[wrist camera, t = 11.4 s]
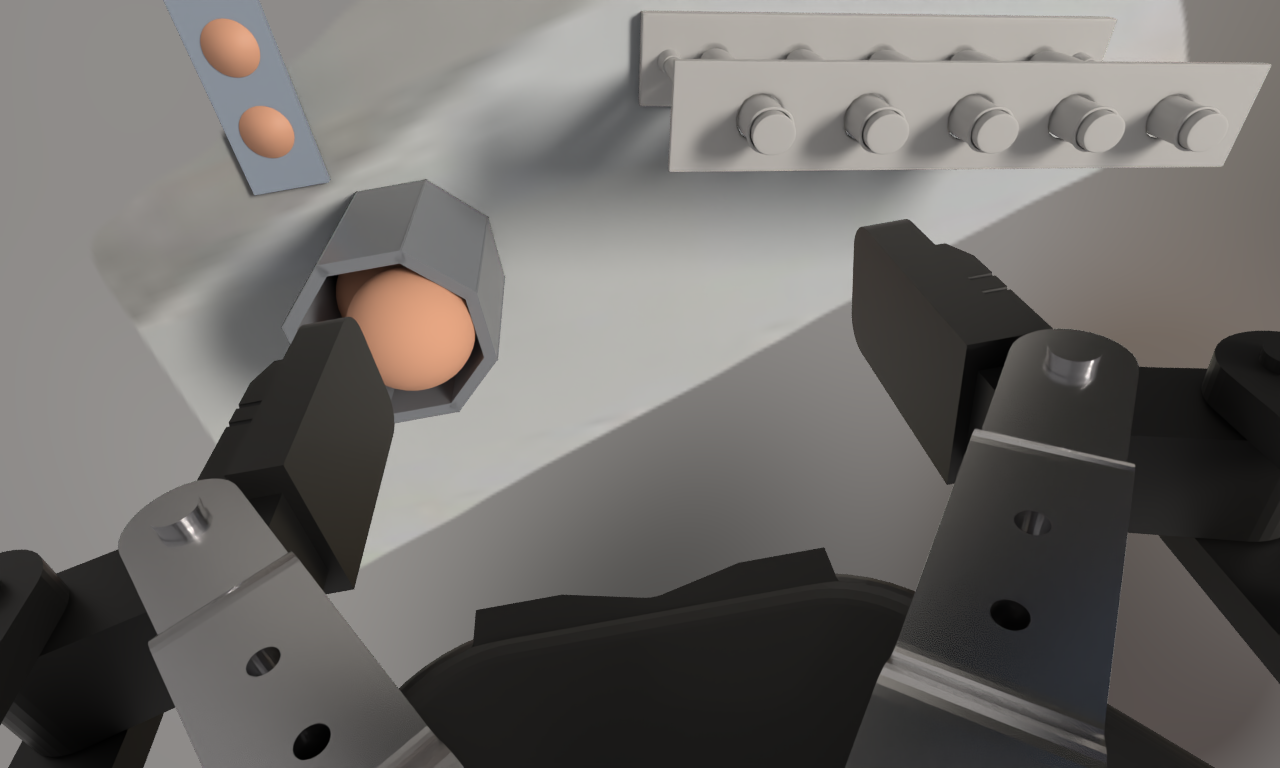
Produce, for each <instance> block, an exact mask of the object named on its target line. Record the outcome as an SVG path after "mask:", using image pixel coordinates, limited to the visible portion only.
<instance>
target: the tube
mask: <svg viewBox="0 0 1280 768" xmlns="http://www.w3.org/2000/svg"><path fill="white" fill-rule="evenodd" d="M394 264H402V265H403V266H405V267H407V268H409V269H411V270H413V271H414V272H416V273H418V274H420V275H422V276H424V277H425V278H427V279H429V280H431V281H433V282H435V283H436V284H438V285H440V286H442V287H444V288H446V289H447V290H449V291H451V292H453V293H455V294H457V295H458V296H460V297H462V298H464V299H466V302H467V305H468V309H469V312H470V315H471V318H472V321H473V324H474V327H475V330H476V336H475V343H474V346H473V349H472V352H471V354H470V356H469V358H468V360H467V362H466V363H465V365H464V366H463V367H462V368H461V370H460V371H459V372H458V373H457V374H456V375H454V376H453V377H452V378H450V379H449V380H448V381H446V382H444V383H442V384H440V385H438V386H436V387H433V388H429V389H425V390H419V391H406V390H400V389H394V388H391V387H388V386H386V385H385V386H386V389H387V391H388V394H389V396H390V399H391V403H392V407H393V413H394V423H399V422H405V421H410V420H416V419H421V418H427V417H432V416H438V415H443V414H449V413H455V412H460V410H461V409H462V407H463V406H464V404H465V403H466V402H467V400H468V399H469V398H470V396H471V395H472V394H473V392H474V391H475V390H476V388H477V387H478V385H479V384H480V383H481V381H482V380H483V379H484V377H485V376H486V375H487V373H488V372H489V370H490V369H491V368H492V366H493V365H494V364H495V362H496V361H497V360H498V352H499V341H500V329H501V318H502V306H503V294H504V283H505V276H504V273H503V269H502V266H501V262H500V258H499V255H498V251H497V248H496V244H495V240H494V237H493V233H492V230H491V226H490V223H489V217H488V216H485V215H484V214H482V213H480V212H479V211H477V210H476V209H474V208H472V207H471V206H469V205H467V204H466V203H464V202H462V201H461V200H459V199H457V198H456V197H454V196H452V195H451V194H449V193H448V192H446V191H444V190H443V189H441V188H439V187H438V186H436V185H434V184H433V183H431V182H429V181H428V180H427V179H425V180H421V181H415V182H410V183H404V184H398V185H393V186H387V187H381V188H376V189H370V190H365V191H359V192H358V191H357V192H356V193H355V195H354V197H353V198H352V200H351V202H350V204H349V206H348V207H347V209H346V211H345V213H344V215H343V216H342V218H341V220H340V222H339V224H338V225H337V227H336V229H335V231H334V233H333V234H332V236H331V238H330V240H329V242H328V243H327V245H326V247H325V249H324V251H323V252H322V254H321V256H320V258H319V260H318V261H317V263H316V265H315V267H314V269H313V271H312V272H311V274H310V276H309V278H308V280H307V281H306V283H305V285H304V287H303V289H302V290H301V292H300V294H299V296H298V298H297V299H296V301H295V303H294V305H293V307H292V308H291V310H290V312H289V314H288V316H287V317H286V319H285V321H284V323H283V325H282V326H281V327H282V329H283V331H284V333H285V335H286V337H287V339H288V341H289V343H290V345H291V343H292V341H293V339H294V337H295V335H296V333H297V331H298V329H299V328H300V326H302V325H304V324H310V323H316V322H321V321H327V320H333V319H338V318H342V316H341V313H340V311H339V309H338V305H337V300H336V283H337V279H338V275H339V274H344V273H349V272H355V271H360V270H366V269H372V268H377V267H383V266H388V265H394Z"/></svg>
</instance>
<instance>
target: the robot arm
mask: <svg viewBox="0 0 1280 768" xmlns="http://www.w3.org/2000/svg"><path fill="white" fill-rule="evenodd" d="M852 323H853V330H854V335H855V338H856V342H857V344H858V347H859V349H860V351H861V353H862V354H863V356H864V357H865V359H866V360H867V362H868V363H869V365H870V366H871V368H872V370H873V371H874V372H875V374H876V376H877V377H878V379H879V380H880V382H881V384H882V385H883V386H884V388H885V390H886V391H887V393H888V394H889V396H890V397H891V399H892V400H893V402H894V404H895V405H896V407H897V408H898V410H899V411H900V413H901V414H902V416H903V417H904V419H905V421H906V422H907V424H908V425H909V427H910V428H911V430H912V431H913V433H914V435H915V436H916V438H917V439H918V441H919V442H920V444H921V445H922V447H923V448H924V450H925V451H926V453H927V455H928V456H929V458H930V459H931V461H932V462H933V464H934V466H935V467H936V468H937V470H938V472H939V473H940V475H941V476H942V478H943V479H944V481H945V483H946V484H947V485H948V484H954V486H953V489H952V491H951V494H950V497H949V500H948V502H947V505H946V508H945V511H944V513H943V516H942V519H941V522H940V525H939V527H938V530H937V533H936V536H935V538H934V541H933V544H932V547H931V550H930V552H929V555H928V558H927V561H926V563H925V566H924V569H923V572H922V575H921V577H920V580H919V583H918V586H917V588H916V591H913V590H910V589H907V588H905V587H902V586H898V585H896V584H893V583H890V582H885V581H882V580H877V579H873V578H868V577H862V576H854V575H848V574H835V573H834V570H833V568H832V565H831V563H830V560H829V558H828V556H827V553H826V551H825V548H819V549H813V550H808V551H802V552H796V553H791V554H785V555H780V556H774V557H769V558H763V559H758V560H752V561H747V562H741V563H738V564H735V565H733V566H730V567H728V568H726V569H723V570H721V571H718V572H716V573H713V574H711V575H709V576H706V577H704V578H701V579H699V580H696V581H694V582H692V583H689V584H687V585H684V586H682V587H680V588H677V589H675V590H672V591H670V592H667V593H665V594H663V595H660V596H657V597H652V598H633V597H606V596H605V597H604V596H579V595H558V596H552V597H547V598H542V599H536V600H531V601H524V602H519V603H513V604H508V605H503V606H497V607H491V608H486V609H480V610H476V617H475V630H474V639H473V640H471V641H468V642H466V643H464V644H462V645H460V646H458V647H456V648H454V649H453V650H451V651H449V652H447V653H445V654H443V655H442V656H440V657H439V658H437V659H436V660H434V661H433V662H431V663H430V664H428V665H427V666H425V667H424V668H422V669H421V670H420V671H419V672H417V673H416V674H415V675H414V676H412V677H411V678H410V679H409V680H408V681H406V682H405V683H404V684H403V685H402V686H401V687H400V688H398V687H397V686H396V685H395V683H394V682H393V681H392V680H391V678H390V677H389V676H388V675H387V673H386V672H385V670H384V669H383V668H382V667H381V665H380V664H379V663H378V662H377V660H376V659H375V658H374V656H373V655H372V654H371V652H370V651H369V650H368V648H367V647H366V646H365V645H364V643H363V642H362V641H361V639H360V638H359V637H358V635H357V634H356V633H355V632H354V630H353V629H352V628H351V626H350V625H349V624H348V623H347V621H346V620H345V619H344V617H343V616H342V615H341V613H340V612H339V611H338V610H337V609H336V607H335V606H334V604H333V603H332V602H331V601H330V599H329V598H328V597H327V595H326V594H330V593H336V592H341V591H347V590H352V589H354V587H355V583H356V579H357V575H358V572H359V568H360V564H361V560H362V556H363V552H364V548H365V544H366V540H367V536H368V532H369V528H370V524H371V520H372V516H373V512H374V508H375V504H376V500H377V497H378V493H379V489H380V485H381V481H382V477H383V473H384V469H385V465H386V461H387V457H388V453H389V449H390V445H391V441H392V437H393V433H394V413H393V407H392V403H391V399H390V396H389V394H388V391H387V389H386V386H385V384H384V382H383V379H382V377H381V375H380V372H379V370H378V368H377V365H376V363H375V360H374V358H373V356H372V353H371V351H370V349H369V346H368V344H367V342H366V339H365V337H364V335H363V332H362V330H361V328H360V326H359V324H358V323H357V322H356V320H355V319H354V318H352V317H344V318H338V319H333V320H327V321H321V322H316V323H310V324H304V325H302V326H300V328H299V329H298V331H297V333H296V335H295V337H294V339H293V341H292V343H291V345H290V347H289V349H288V351H287V353H286V355H285V356H284V358H283V360H278V361H274V362H273V363H272V364H271V365H270V366H268V367H267V368H266V369H265V370H264V371H263V372H262V373H261V374H260V375H259V376H257V377H256V378H255V379H254V380H253V381H252V382H251V383H250V385H249V387H248V388H247V390H246V392H245V394H244V396H243V398H242V399H241V401H240V403H239V409H236V410H235V412H234V414H233V416H232V418H231V419H230V421H229V425H230V427H226V429H225V430H224V432H223V434H222V436H221V438H220V440H219V441H218V443H217V445H216V447H215V449H214V451H213V452H212V454H211V456H210V458H209V460H208V461H207V463H206V465H205V467H204V469H203V471H202V472H201V474H200V476H199V478H198V480H197V481H194V482H191V483H188V484H185V485H182V486H180V487H177V488H175V489H173V490H171V491H169V492H167V493H165V494H163V495H161V496H160V497H158V498H156V499H155V500H153V501H152V502H150V503H149V504H148V505H146V506H145V507H144V508H143V509H141V510H140V511H139V512H138V513H137V514H136V515H135V516H134V517H133V518H132V519H131V520H130V522H129V523H128V524H127V525H126V527H125V528H124V530H123V532H122V533H121V536H120V539H119V542H118V550H116V551H113V552H110V553H108V554H105V555H103V556H100V557H98V558H95V559H93V560H90V561H88V562H85V563H82V564H80V565H77V566H75V567H72V568H70V569H67V570H64V571H62V572H59V573H57V574H56V573H55V572H54V571H53V570H52V569H51V568H50V567H49V565H48V564H47V563H46V562H45V561H44V560H43V559H42V558H41V557H40V556H39V555H38V554H37V553H35V552H33V551H29V550H12V551H6V552H2V553H0V725H1V723H2V724H3V725H5V726H6V727H7V728H8V729H9V730H11V731H12V732H13V733H14V734H15V735H17V736H18V737H19V738H20V739H22V740H23V741H22V743H21V745H20V747H19V749H18V750H17V752H16V754H15V756H14V758H13V760H12V762H11V764H10V765H9V767H8V768H143V767H144V764H145V762H146V759H147V756H148V753H149V751H150V748H151V746H152V743H153V740H154V738H155V735H156V733H157V730H158V727H159V725H160V722H161V719H162V717H163V713H164V712H166V711H168V710H171V709H173V708H175V707H176V709H177V712H178V714H179V716H180V718H181V721H182V723H183V725H184V727H185V729H186V731H187V734H188V736H189V738H190V741H191V743H192V745H193V747H194V750H195V752H196V754H197V756H198V759H199V761H200V763H201V765H202V767H203V768H1214V767H1213V766H1211V765H1209V764H1208V763H1206V762H1204V761H1203V760H1201V759H1199V758H1198V757H1196V756H1194V755H1193V754H1191V753H1189V752H1188V751H1186V750H1184V749H1183V748H1181V747H1179V746H1178V745H1176V744H1174V743H1173V742H1171V741H1169V740H1167V739H1166V738H1164V737H1162V736H1161V735H1159V734H1157V733H1156V732H1154V731H1153V730H1151V729H1149V728H1148V727H1146V726H1144V725H1142V724H1141V723H1139V722H1137V721H1136V720H1134V719H1132V718H1131V717H1129V716H1127V715H1126V714H1124V713H1122V712H1121V711H1119V710H1117V709H1116V708H1114V707H1112V706H1111V705H1109V704H1107V701H1108V693H1109V685H1110V677H1111V668H1112V660H1113V651H1114V643H1115V635H1116V626H1117V618H1118V610H1119V602H1120V593H1121V585H1122V577H1123V569H1124V560H1125V551H1126V544H1127V535H1128V533H1141V534H1153V535H1159V536H1160V538H1161V539H1162V540H1163V541H1164V543H1165V544H1166V545H1167V546H1168V548H1169V549H1170V550H1171V551H1172V553H1173V554H1174V555H1175V556H1176V557H1177V559H1178V560H1179V561H1180V562H1181V563H1182V565H1183V566H1184V567H1185V568H1186V570H1187V571H1188V572H1189V573H1190V574H1191V576H1192V577H1193V578H1194V579H1195V581H1196V582H1197V583H1198V584H1199V586H1200V587H1201V588H1202V589H1203V590H1204V592H1205V593H1206V594H1207V595H1208V597H1209V598H1210V599H1211V600H1212V601H1213V603H1214V604H1215V605H1216V606H1217V608H1218V609H1219V610H1220V611H1221V613H1222V614H1223V615H1224V616H1225V617H1226V619H1227V620H1228V621H1229V622H1230V623H1231V625H1232V626H1233V627H1234V628H1235V630H1236V631H1237V632H1238V633H1239V635H1240V636H1241V637H1242V638H1243V639H1244V641H1245V642H1246V643H1247V644H1248V645H1249V647H1250V648H1251V649H1252V650H1253V652H1254V653H1255V654H1256V655H1257V656H1258V658H1259V659H1260V660H1261V662H1263V664H1264V665H1265V666H1266V667H1267V669H1268V670H1269V671H1270V672H1271V674H1272V675H1273V676H1274V677H1275V678H1276V680H1277V681H1278V682H1279V683H1280V332H1277V331H1251V332H1243V333H1238V334H1234V335H1232V336H1229V337H1227V338H1225V339H1223V340H1222V341H1221V342H1220V343H1219V344H1218V345H1217V346H1216V348H1215V351H1214V353H1213V356H1212V359H1211V361H1210V364H1209V367H1208V369H1199V368H1155V367H1151V368H1150V367H1139V365H1138V362H1137V360H1136V358H1135V357H1134V355H1133V354H1132V353H1131V352H1130V351H1129V350H1128V349H1127V348H1125V347H1124V346H1122V345H1121V344H1119V343H1117V342H1115V341H1113V340H1111V339H1109V338H1106V337H1104V336H1101V335H1098V334H1094V333H1091V332H1086V331H1081V330H1073V329H1053V328H1052V327H1051V326H1049V325H1048V324H1047V323H1046V322H1045V321H1044V320H1043V319H1042V318H1041V317H1040V316H1039V315H1038V314H1037V313H1035V312H1034V311H1033V310H1032V309H1031V308H1030V307H1029V306H1028V305H1027V304H1026V303H1025V302H1024V301H1022V300H1021V299H1020V298H1019V297H1018V296H1017V295H1016V294H1015V293H1014V292H1013V291H1012V290H1007V286H1006V285H1005V284H1004V283H1003V282H1002V281H1001V280H1000V279H999V278H998V277H996V276H992V272H991V271H990V270H989V269H988V268H987V267H986V266H985V265H983V264H982V263H981V262H980V261H979V260H978V259H977V258H976V257H975V256H973V255H971V254H969V253H967V252H964V251H962V250H959V249H957V248H955V247H952V246H950V245H948V244H945V243H944V244H939V245H935V244H934V243H933V242H932V241H931V240H930V239H929V238H928V237H927V236H926V235H925V234H924V233H922V232H921V231H920V230H919V229H918V228H917V227H916V226H915V225H914V224H913V223H912V222H911V221H910V220H908V219H904V220H898V221H893V222H887V223H881V224H876V225H870V226H864V227H860V228H859V229H858V230H857V232H856V235H855V241H854V263H853V293H852Z"/></svg>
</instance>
